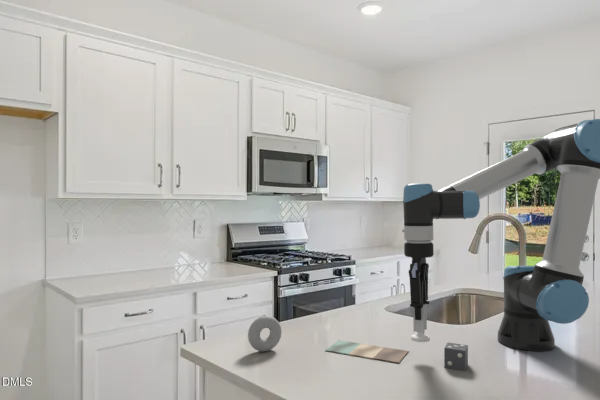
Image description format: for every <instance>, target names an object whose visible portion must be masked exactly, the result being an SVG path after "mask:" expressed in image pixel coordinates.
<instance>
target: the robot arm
mask: <svg viewBox="0 0 600 400" xmlns="http://www.w3.org/2000/svg"><path fill="white" fill-rule="evenodd" d="M554 170H557V171H558V172H559V173H560V179H559V184H558V188H557V193H556V197H555V202H554V206H553V210H552V215H551V220H550V224H549V229H548V233H547V238H546V241H545V246H544V250H543V256H542V259H541V260H540V261H539V262H536V263H535V264H534V265H508V266H506V267H505V268H504V270H503V277H502V278H503V279H502V280H503V316H502V319H501V321H500V326H499V328H498V330H497V341H498V342H499V343H500V344H502V345H504V346H507V347H510V348H514V349H519V350H523V351H531V352H532V351H534V352H547V351H551V350H553V349H554V348H555V345H556V343H555V342H556V341H555V336H554V333H553V331H552V328H551V325H550V323H549V322H553V323H557V324H565V325H566V324H571V323H574V322H575V321H578V320H579V319H580V318H582V317H583V316H584V315H585V313H586V311H587V310H588V307H589V303H590V298H589V293H588V292H587V289H586V288H585V286H584V285H583V283H584V278H585V275H584V273H583V272H582V271H581V270H580V264H581V260H582V255H583V250H584V247H585V242H586V237H587V234H588V233H587V232H588V230H589V229H588V228H589V224H590V220H591V219H590V218H591V215H592V210H593V205H594V202H595V195H596V192H597V188H598V185H599V184H598V183H599V180H600V118H593V119H586V120H581V121H580V122H578V123H574V124H573V123H572V124H570V125H566V126H561V127H560V128H557V129H555V130H553V131H551V132H549V133H547V134H545V135H544V136H542V137H540V138H538V139H537V140H535V141H533V142H531V143H528V144H526V145H525V146H524V147H523V149H522V151H519V152H517V153H516V154H513V155H512V156H509V157H507V158H505V159H503V160H501V161H499V162H497V163H495V164H492V165H490V166H487V167H486V168H484V169H482V170H480V171H477V172H475V173H473V174H471V175H469V176H466V177H465V178H463V179H460V180H458V181H456V182H454V183H451V184H450V185H448V186H445V187H443V188H441V189H439V190H434V189H433V185H432V184H431V183H409V184H406V185H404V187H403V196H402V197H403V199H402V203H403V205H402V206H403V228H402V230H401V232H402V233H403V237H404V238H403V239H404V240H405V243H404V244H403V246H404V247H403V248H404V249H403V250H404V251H403V252H404V254H403V255H404V256H405V257H407V258H411V263H410V265H409V269H408V277H409V288H410V289H409V292H410V304H409V306H410V307H411V308H412V310H413V311H412V312H413V314H412V316H413V321H412V323H413V332H415V333H416V332H424V333H425V331H426V330H427V329H428V325H427V323H428V322H427V320H428V319H427V314H428V312H427V305H430V301H429V267H430V266H429V265H430V264H429V263H427V258H432V257H434V252H435V251H434V243H433V242H432V241H434V220H441V219H443V220H447V219H448V220H450V219H452V220H457V219H459V220H460V219H463V220H467V219H475V218H476V217H477V216H478V214H479V212H480V208H481V203H480V200H482V199H484V198H485V197H487V196H490V195H492V194H494V193H496V192H498V191H500V190H504V189H505V188H507V187H509V186H511V185H513V184H516V183H518V182H520V181H522V180H524V179H527V178H529V177H531V176H533V175H543V174H545V173H547V172H550V171H554Z"/></svg>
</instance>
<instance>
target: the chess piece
mask: <svg viewBox="0 0 600 400" xmlns="http://www.w3.org/2000/svg"><path fill="white" fill-rule="evenodd" d="M410 340H411V341H412V342H416V343H429V342H430V341H431V339H430V336H429V335H428V334H426V333H425V332H415V333H414V334H411V335H410Z"/></svg>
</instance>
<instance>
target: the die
mask: <svg viewBox="0 0 600 400" xmlns="http://www.w3.org/2000/svg"><path fill="white" fill-rule="evenodd" d="M443 349H444V355H443V356H444V360H443V362H444V364H443V365H444V366H443V367H444V369H451V370H458V371H463V372H466V370H467V367H468V365H469V355H468V354H469V353H468V352H469V345H467V344H463V343H462V344H461V343H457V342H456V343H455V342H447V343H446V345H445V347H444V348H443Z"/></svg>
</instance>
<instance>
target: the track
mask: <svg viewBox="0 0 600 400" xmlns="http://www.w3.org/2000/svg"><path fill="white" fill-rule="evenodd" d="M325 352H329V353H335V354H342V355H347V356H352V357H357V358H358V357H360V358H364V359H369V360H377V361H381V362H388V363H394V364H400V363H401V362H402V361H403V359H404V358H405V357H406V355H408V353H409V350H406V349H405V350H404V349H398V348H391V347H387V346H386V347H385V346H380V345H371V344H366V343H359V342H353V341H347V340H340V339H339V340H337V341H336V342H334V343H332V345H330V346H329V347H327V348H326V349H325Z"/></svg>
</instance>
